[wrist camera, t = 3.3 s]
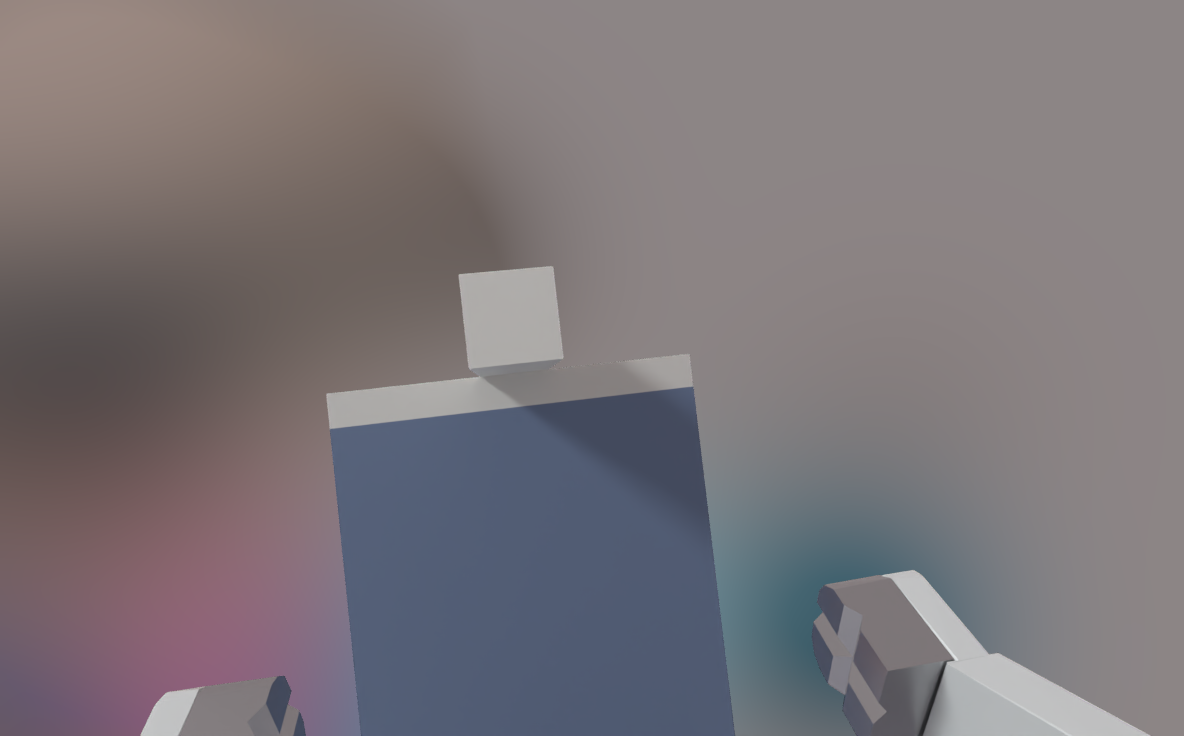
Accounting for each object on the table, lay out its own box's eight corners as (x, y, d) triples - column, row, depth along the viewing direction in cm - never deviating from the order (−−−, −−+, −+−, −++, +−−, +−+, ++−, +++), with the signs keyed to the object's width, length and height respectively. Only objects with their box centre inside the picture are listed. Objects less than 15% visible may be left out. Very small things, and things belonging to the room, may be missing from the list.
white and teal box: (572, 357, 20) (562, 265, 20) (459, 369, 20) (449, 275, 20) (541, 377, 40) (536, 330, 40) (484, 383, 40) (479, 335, 40)
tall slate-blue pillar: (758, 932, 28) (689, 354, 29) (389, 1020, 26) (326, 393, 27) (687, 778, 40) (638, 365, 40) (426, 831, 38) (380, 394, 38)
